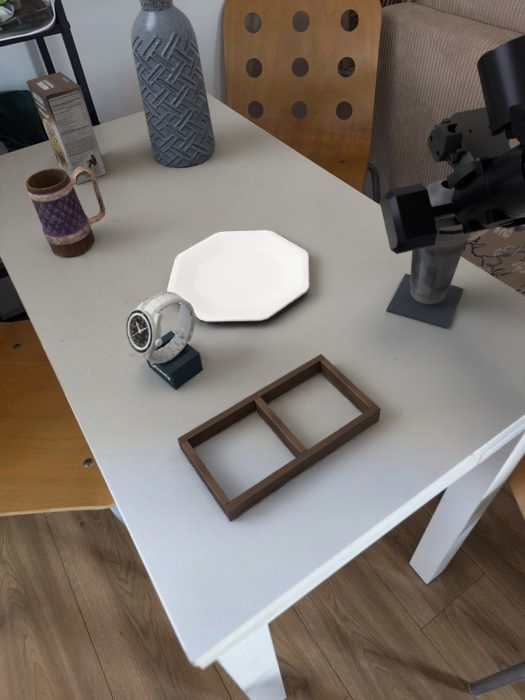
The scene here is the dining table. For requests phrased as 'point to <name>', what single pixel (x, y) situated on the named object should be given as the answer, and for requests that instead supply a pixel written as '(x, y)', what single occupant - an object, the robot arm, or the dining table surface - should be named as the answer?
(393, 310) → the coaster
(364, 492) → the dining table surface
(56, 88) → the coffee box
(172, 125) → the vase
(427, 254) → the beverage cup
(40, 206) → the mug
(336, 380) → the frame
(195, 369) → the watch
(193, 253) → the plate
